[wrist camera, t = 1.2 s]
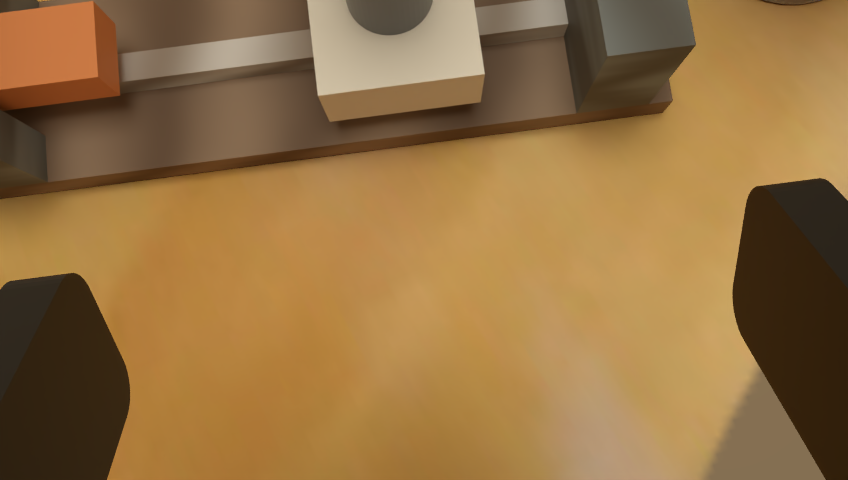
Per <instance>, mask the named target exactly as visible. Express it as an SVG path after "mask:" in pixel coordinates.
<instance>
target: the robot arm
mask: <svg viewBox="0 0 848 480" xmlns="http://www.w3.org/2000/svg"><path fill="white" fill-rule="evenodd" d="M733 307H734V313H735V318H736V322H737V325H738V328H739V331H740V333H741V336H742V337H743V339H744V341H745V343H746V345H747V346H748V348H749V350H750V351H751V353H752V355H753V356H754V358H755V360H756V362H757V363H758V365H759V367H760V368H761V370H762V372H763V373H764V375H765V377H766V378H767V380H768V382H769V384H770V385H771V387H772V389H773V390H774V392H775V394H776V396H777V397H778V399H779V401H780V402H781V404H782V406H783V408H784V409H785V411H786V413H787V414H788V416H789V418H790V419H791V421H792V423H793V425H794V426H795V428H796V430H797V431H798V433H799V435H800V436H801V438H802V440H803V441H804V443H805V445H806V447H807V448H808V450H809V452H810V453H811V455H812V457H813V459H814V460H815V462H816V464H817V465H818V467H819V469H820V470H821V472H822V474H823V475H824V477H825V479H826V480H848V201H847V200H846V199H845V198H844V196H843V195H842V194H841V193H840V192H839V191H838V190H837V189H836V188H835V187H834V186H833V185H832V184H831V183H830V182H829V181H827V180H825V179H821V178H819V179H811V180H803V181H796V182H788V183H780V184H772V185H765V186H757V187H755V188H753V190H752V191H751V192H750V194H749V196H748V199H747V203H746V208H745V214H744V220H743V227H742V233H741V239H740V245H739V252H738V258H737V264H736V271H735V277H734V283H733ZM129 404H130V384H129V377H128V373H127V369H126V366H125V363H124V361H123V359H122V356H121V354H120V352H119V350H118V348H117V346H116V344H115V342H114V339H113V337H112V335H111V333H110V331H109V329H108V327H107V324H106V322H105V320H104V318H103V316H102V314H101V312H100V310H99V307H98V305H97V303H96V301H95V299H94V297H93V295H92V293H91V290H90V288H89V286H88V285H87V283H86V282H85V280H84V279H83V278H82V277H81V276H80V275H78V274H75V273H69V274H61V275H54V276H46V277H38V278H31V279H23V280H15V281H10V282H8V283H6V284H5V285H4V286H3V287H2V288H1V290H0V480H107V477H108V474H109V471H110V468H111V465H112V462H113V459H114V456H115V452H116V449H117V446H118V443H119V440H120V437H121V434H122V431H123V427H124V424H125V421H126V418H127V415H128V410H129Z"/></svg>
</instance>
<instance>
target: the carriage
mask: <svg viewBox="0 0 848 480" xmlns="http://www.w3.org/2000/svg"><path fill="white" fill-rule="evenodd" d="M307 3H308V12H309V21H310V30H311V39H312V48H313V57H314V66H315V75H316V84H317V93H318V97H319V99H320V102H321V104H322V106H323V108H324V110H325V113H326V115H327V117H328V119H329V121H330V122H333V121H340V120H348V119H356V118H363V117H371V116H379V115H386V114H394V113H402V112H409V111H417V110H425V109H432V108H440V107H448V106H455V105H463V104H471V103H479V102H481V96H482V89H483V83H484V76H485V72H484V65H483V58H482V52H481V45H480V38H479V31H478V25H477V18H476V11H475V4H474V0H307Z"/></svg>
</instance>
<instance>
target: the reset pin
mask: <svg viewBox="0 0 848 480" xmlns="http://www.w3.org/2000/svg"><path fill="white" fill-rule="evenodd" d="M113 96H120V85H119V70H118V55H117V40H116V26H115V23H114V22H113V21H112V20H111V19H110V18H109V17H108V16H107V15H106V14H105V13H104V12H103V11H102V10H101V9H100V8H99V6H98V5H97V4H96V3H95V2H94V1H89V2H81V3H73V4H66V5H58V6H50V7H43V8H35V9H27V10H20V11H12V12H4V13H0V110H2V111H6V110H14V109H21V108H29V107H37V106H44V105H52V104H60V103H67V102H75V101H83V100H90V99H98V98H106V97H113Z"/></svg>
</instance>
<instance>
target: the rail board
mask: <svg viewBox="0 0 848 480" xmlns="http://www.w3.org/2000/svg"><path fill="white" fill-rule="evenodd" d="M89 1H94V2H95V3H96V4H97V5H98V6H99V8H100V9H101V10H102V11H103V12H104V13H105V14H106V15H107V16H108V17H109V18H110V19H111V20H112V21H113V22H114V23H115V26H116V40H117V55H118V70H119V85H120V96H113V97H106V98H98V99H90V100H83V101H75V102H67V103H60V104H52V105H44V106H37V107H29V108H21V109H14V110H6V111H2V110H0V199H2V198H10V197H18V196H25V195H33V194H41V193H48V192H56V191H64V190H71V189H79V188H87V187H94V186H102V185H110V184H117V183H125V182H133V181H141V180H148V179H156V178H164V177H171V176H179V175H187V174H194V173H202V172H210V171H217V170H225V169H233V168H240V167H248V166H256V165H263V164H271V163H279V162H286V161H294V160H302V159H310V158H317V157H325V156H333V155H340V154H348V153H356V152H363V151H371V150H379V149H386V148H394V147H402V146H409V145H417V144H425V143H432V142H440V141H448V140H455V139H463V138H471V137H479V136H486V135H494V134H502V133H509V132H517V131H525V130H532V129H540V128H548V127H555V126H563V125H571V124H578V123H586V122H594V121H601V120H609V119H617V118H625V117H632V116H640V115H648V114H655V113H663V111H664V110H665V109H666V108H667V107H668V106H669V105H670V104H671V102H672V101H673V99H672V94H671V89H670V83H669V78H670V77H671V75H672V74H673V73H674V72H675V70H676V69H677V68H678V67H679V65H680V64H681V63H682V62H683V60H684V59H685V58H686V57H687V55H688V54H689V53H690V52H691V50H692V49H693V48H694V47H695V45H696V42H695V37H694V32H693V27H692V22H691V17H690V12H689V7H688V1H687V0H474V4H475V11H476V18H477V25H478V31H479V38H480V45H481V52H482V58H483V65H484V72H485V76H484V83H483V89H482V96H481V102H479V103H471V104H463V105H455V106H448V107H440V108H432V109H425V110H417V111H409V112H402V113H394V114H386V115H379V116H371V117H363V118H356V119H348V120H340V121H333V122H330V121H329V119H328V117H327V115H326V113H325V110H324V108H323V106H322V104H321V102H320V99H319V97H318V93H317V84H316V75H315V66H314V57H313V48H312V39H311V30H310V21H309V12H308V3H307V0H50V1H42V2H38V1H37V0H0V13H4V12H12V11H20V10H27V9H35V8H43V7H50V6H58V5H66V4H73V3H81V2H89Z"/></svg>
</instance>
